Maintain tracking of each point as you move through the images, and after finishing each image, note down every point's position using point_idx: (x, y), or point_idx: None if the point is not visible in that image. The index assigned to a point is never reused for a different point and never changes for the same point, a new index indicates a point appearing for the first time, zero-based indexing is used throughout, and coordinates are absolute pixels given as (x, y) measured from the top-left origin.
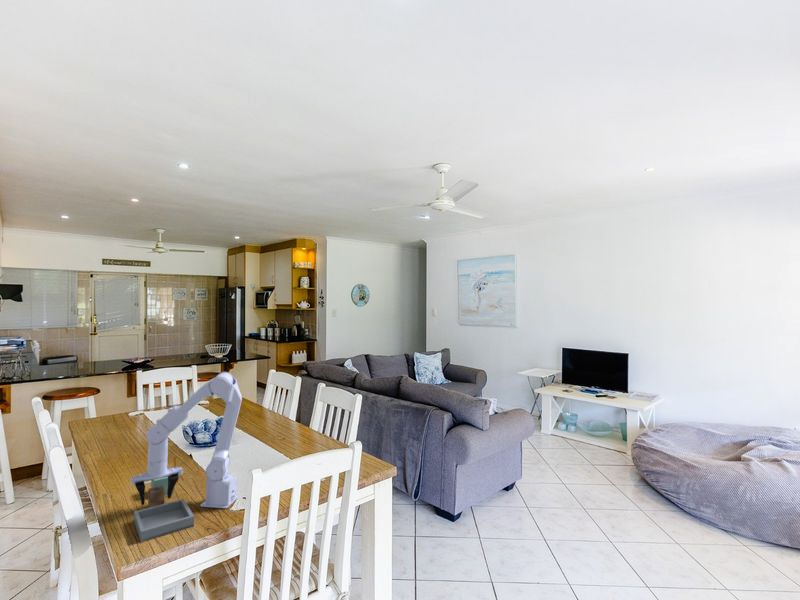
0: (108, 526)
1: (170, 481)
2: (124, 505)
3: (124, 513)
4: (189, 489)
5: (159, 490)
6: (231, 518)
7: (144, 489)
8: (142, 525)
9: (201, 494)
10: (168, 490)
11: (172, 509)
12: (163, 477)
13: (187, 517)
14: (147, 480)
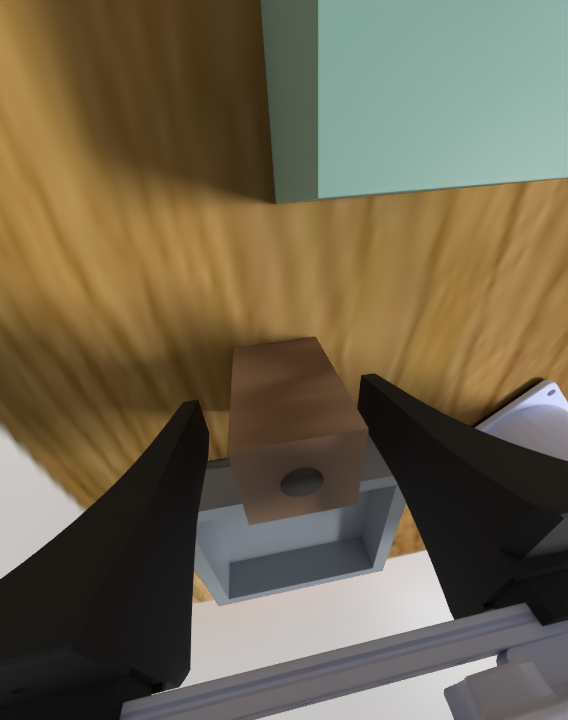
0: (56, 473)
1: (443, 570)
2: (25, 230)
3: (91, 376)
4: (549, 188)
5: (319, 503)
6: None
7: (188, 607)
8: (220, 589)
9: (530, 329)
10: (386, 426)
11: None
12: (521, 67)
13: (363, 572)
14: (198, 701)
